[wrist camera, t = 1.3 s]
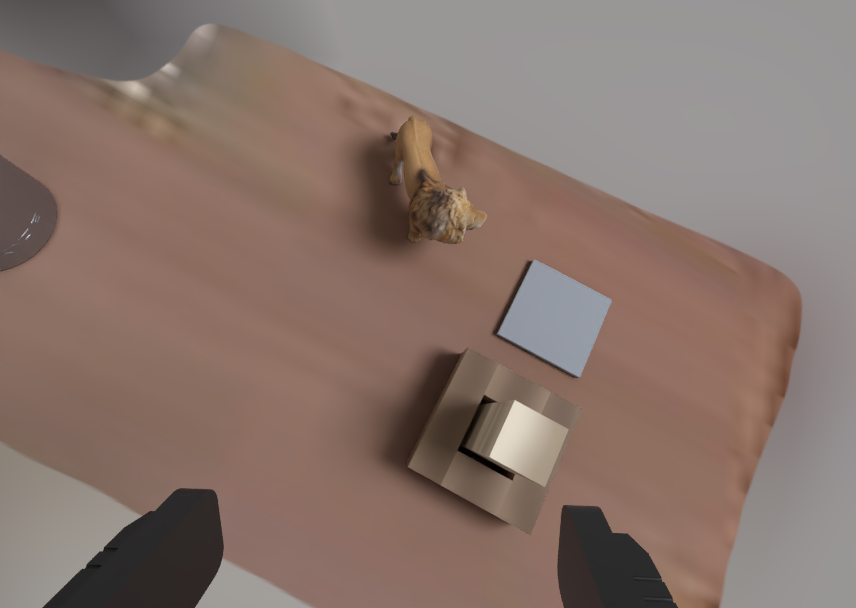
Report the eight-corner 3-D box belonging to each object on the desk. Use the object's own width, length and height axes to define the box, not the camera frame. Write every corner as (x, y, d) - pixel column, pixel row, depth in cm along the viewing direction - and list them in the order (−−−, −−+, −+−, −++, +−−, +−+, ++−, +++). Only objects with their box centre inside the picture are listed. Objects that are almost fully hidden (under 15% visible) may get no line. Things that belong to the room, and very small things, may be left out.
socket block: (405, 462, 34) (407, 466, 31) (461, 353, 37) (468, 347, 34) (516, 523, 34) (530, 535, 31) (563, 409, 37) (581, 408, 33)
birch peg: (458, 444, 35) (489, 456, 25) (477, 404, 36) (514, 400, 25) (497, 465, 35) (545, 487, 24) (515, 425, 36) (568, 429, 25)
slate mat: (496, 335, 38) (497, 333, 37) (532, 261, 40) (534, 258, 39) (576, 378, 37) (579, 377, 37) (608, 301, 40) (612, 299, 39)
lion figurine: (476, 258, 40) (500, 213, 31) (423, 278, 39) (433, 238, 30) (414, 129, 43) (421, 55, 34) (364, 144, 42) (358, 73, 33)
